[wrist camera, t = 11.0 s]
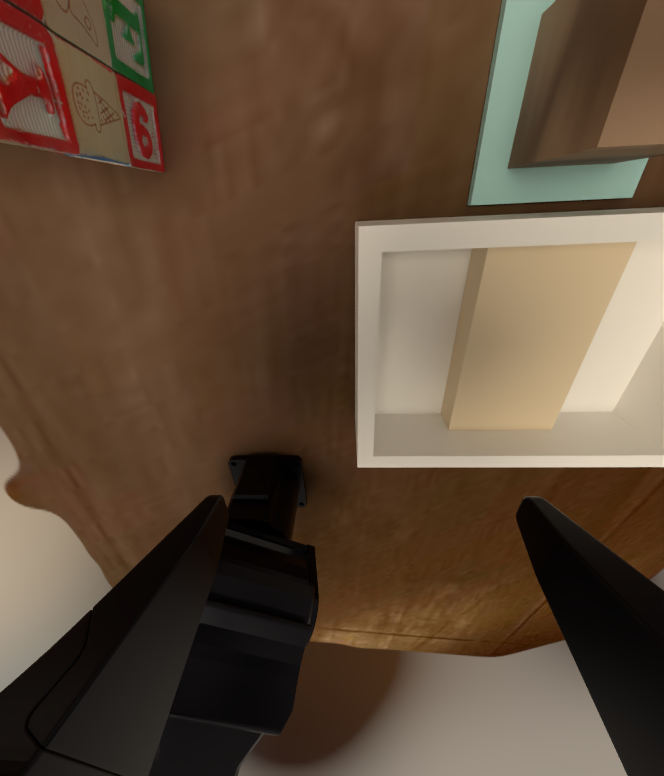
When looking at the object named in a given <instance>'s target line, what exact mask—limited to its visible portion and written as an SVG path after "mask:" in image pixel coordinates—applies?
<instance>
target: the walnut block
mask: <svg viewBox="0 0 664 776" xmlns="http://www.w3.org/2000/svg"><path fill="white" fill-rule="evenodd" d="M662 155H664V0H556V1H555V2H554V3H553V4H552V5H551V6H550V7H549V8H547V9H546V10H545V11H544V12H543V13H542V16H541V20H540V25H539V29H538V34H537V38H536V42H535V47H534V51H533V56H532V60H531V65H530V69H529V74H528V78H527V83H526V87H525V92H524V96H523V101H522V105H521V110H520V114H519V119H518V123H517V128H516V132H515V137H514V141H513V146H512V150H511V155H510V159H509V164H508V168H507V169H513V168H533V167H553V166H573V165H593V164H612V163H619V162H626V161H632V160H638V159H644V158H650V157H656V156H662Z"/></svg>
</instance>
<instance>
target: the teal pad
mask: <svg viewBox="0 0 664 776" xmlns="http://www.w3.org/2000/svg"><path fill="white" fill-rule="evenodd" d="M555 1H556V0H502V4H501V10H500V16H499V22H498V28H497V34H496V40H495V45H494V51H493V57H492V63H491V69H490V75H489V81H488V86H487V92H486V98H485V104H484V110H483V116H482V122H481V127H480V133H479V139H478V145H477V151H476V157H475V163H474V168H473V174H472V180H471V186H470V192H469V198H468V203H467V205H490V204H510V203H530V202H551V201H571V200H592V199H612V198H632V197H633V194H634V192H635V190H636V187H637V185H638V182H639V180H640V178H641V175H642V173H643V171H644V168H645V166H646V163H647V161H648V159H649V158H644V159H638V160H632V161H626V162H619V163H612V164H593V165H573V166H553V167H533V168H513V169H507V168H508V164H509V159H510V155H511V150H512V146H513V141H514V137H515V132H516V128H517V123H518V119H519V114H520V110H521V105H522V101H523V96H524V92H525V87H526V83H527V78H528V74H529V69H530V65H531V60H532V56H533V51H534V47H535V42H536V38H537V34H538V29H539V25H540V20H541V16H542V13H543V12H544V11H545V10H546V9H547V8H549V7H550V6H551V5H552V4H553V3H554V2H555Z"/></svg>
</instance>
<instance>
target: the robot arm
mask: <svg viewBox="0 0 664 776" xmlns="http://www.w3.org/2000/svg"><path fill="white" fill-rule="evenodd" d="M296 462H297V463H296ZM228 464H229V467H230V470H231V474H232V477H233V480H234V483H235V489H234V491H233V494H232V496H231V499H230V502H229V504H228V507H227V506H226V503H225V500H224V498H223V496H221V495H209V496H207V497H206V498H205V499H204V500H203V501H202V502H201V503H200V504H199V505H198V506H197V507H196V508H195V509H194V510H193V511H192V512H191V513H190V514H189V515H188V516H187V517H185V518H184V519H183V520H182V521H181V522H180V523H179V524H178V525H177V526H176V527H175V528H174V529H173V530H172V531H171V532H170V533H169V534H168V535H167V536H166V537H165V538H164V539H163V540H162V541H161V542H160V543H159V544H158V545H157V546H156V547H155V548H154V549H153V550H152V551H151V552H150V553H149V554H147V555H146V556H145V557H144V558H143V559H142V560H141V561H140V562H139V563H138V564H137V565H136V566H135V567H134V568H133V569H132V570H131V571H130V572H129V573H128V574H127V575H126V576H125V577H124V578H123V579H122V580H121V581H120V582H119V583H118V584H117V585H116V586H115V587H114V588H113V589H112V590H111V591H110V592H108V593H107V594H106V595H105V596H104V597H103V598H102V599H101V600H100V601H99V602H98V603H97V604H96V605H95V606H94V607H93V610H90V611H89V612H88V613H87V614H86V615H85V616H84V617H83V618H82V619H81V620H80V621H79V622H77V624H75V625H74V626H73V627H72V628H71V629H70V630H69V631H68V632H67V633H66V634H65V635H64V636H63V637H62V638H61V639H60V640H58V642H57V643H55V644H54V645H53V646H52V647H51V648H50V649H49V650H48V651H47V652H46V653H45V654H43V655H42V656H41V657H40V658H39V659H38V660H37V661H36V662H35V663H33V664H32V665H31V666H30V667H29V668H28V669H27V670H25V671H24V672H23V673H22V674H21V675H20V676H19V677H18V678H17V679H15V680H14V681H13V682H12V683H11V684H10V685H8V686H7V687H6V688H5V689H4V690H3V691H2V692H0V776H238V772H239V769H240V767H241V765H242V763H243V762H244V761H245V759H246V757H248V755H249V754H250V752H251V751H252V750H253V748H254V747H255V745H256V744H257V743H258V741H259V740H260V739H261V737H262V736H263V734H269V735H275V736H278V735H279V734H280V733H281V731H282V729H283V728H284V726H285V724H286V722H287V720H288V718H289V716H290V714H291V712H292V710H293V704H294V699H295V693H296V687H297V681H298V675H299V670H300V665H301V661H302V657H303V653H304V649H305V647H306V646H307V644H308V642H309V641H310V638H311V636H312V633H313V630H314V627H315V623H316V618H317V612H318V603H319V594H318V582H317V570H316V559H315V547H314V546H311V545H304V544H301V543H298V542H295V541H291V540H292V534H293V527H294V521H295V515H296V509H297V507H305V506H306V504H307V497H306V489H305V482H304V474H303V467H302V460H301V458H299V457H296V456H259V457H231V458H230V460H229V462H228ZM516 519H517V523H518V526H519V529H520V532H521V535H522V538H523V541H524V543H525V546H526V549H527V552H528V555H529V558H530V561H531V563H532V566H533V569H534V572H535V574H536V577H537V579H538V582H539V584H540V586H541V588H542V590H543V593H544V595H545V597H546V599H547V601H548V604H549V606H550V608H551V610H552V612H553V614H554V617H555V619H556V621H557V623H558V625H559V627H560V630H561V632H562V634H563V636H564V638H565V640H566V642H567V645H568V647H569V649H570V651H571V654H572V656H573V658H574V660H575V662H576V664H577V666H578V669H579V671H580V673H581V675H582V677H583V680H584V682H585V684H586V686H587V688H588V690H589V693H590V695H591V697H592V699H593V701H594V703H595V706H596V708H597V710H598V712H599V714H600V717H601V719H602V721H603V723H604V725H605V727H606V730H607V732H608V734H609V736H610V738H611V741H612V743H613V745H614V747H615V749H616V751H617V753H618V756H619V758H620V760H621V762H622V764H623V767H624V769H625V771H626V773H627V775H628V776H664V591H663V590H662V589H661V588H659V587H658V586H657V585H656V584H654V583H653V582H651V581H650V580H649V579H648V578H646V577H645V576H644V575H643V574H641V573H640V572H639V571H637V570H636V569H635V568H633V567H632V566H631V565H630V564H628V563H627V562H626V561H624V560H623V559H622V558H620V557H619V556H618V555H617V554H615V553H614V552H613V551H611V550H610V549H609V548H607V547H606V546H605V545H603V544H602V543H601V542H600V541H598V540H597V539H596V538H594V537H593V536H592V535H590V534H589V533H588V532H587V531H585V530H584V529H583V528H581V527H580V526H579V525H577V524H576V523H575V522H574V521H572V520H571V519H570V518H568V517H567V516H566V515H564V514H563V513H562V512H561V511H559V510H558V509H557V508H555V507H554V506H553V505H551V504H550V503H549V502H548V501H546V500H545V499H543V498H542V497H539V496H526V497H524V498H523V500H522V502H521V504H520V506H519V509H518V511H517V513H516Z"/></svg>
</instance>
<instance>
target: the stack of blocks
mask: <svg viewBox="0 0 664 776" xmlns="http://www.w3.org/2000/svg"><path fill="white" fill-rule="evenodd" d="M0 143H5V144H12V145H18V146H24V147H29V148H34V149H40V150H46V151H51V152H56V153H61V154H65V155H67V156H71V157H77V158H82V159H87V160H93V161H98V162H104V163H109V164H114V165H120V166H125V167H131V168H136V169H142V170H147V171H152V172H158V173H164V172H165V169H164V161H163V153H162V144H161V136H160V128H159V121H158V113H157V105H156V98H155V95H154V89H153V81H152V73H151V64H150V56H149V47H148V39H147V31H146V23H145V15H144V5H143V0H0Z"/></svg>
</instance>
